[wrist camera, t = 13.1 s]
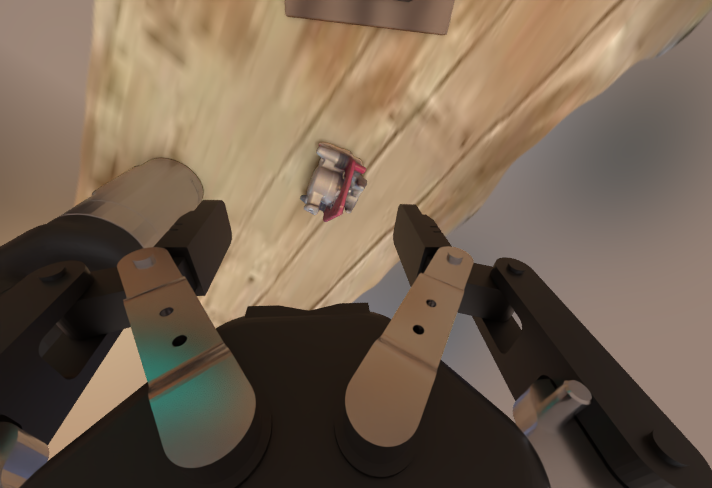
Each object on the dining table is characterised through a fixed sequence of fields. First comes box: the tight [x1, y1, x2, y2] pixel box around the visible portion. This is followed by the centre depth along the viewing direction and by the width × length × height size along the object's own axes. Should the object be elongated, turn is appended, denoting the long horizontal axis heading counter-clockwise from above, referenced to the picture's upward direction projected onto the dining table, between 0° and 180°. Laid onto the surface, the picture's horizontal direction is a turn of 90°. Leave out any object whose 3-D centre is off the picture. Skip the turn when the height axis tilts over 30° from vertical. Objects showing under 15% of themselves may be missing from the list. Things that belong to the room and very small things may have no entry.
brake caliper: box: [300, 142, 367, 222], centre depth 41 cm, size 11×11×12 cm
